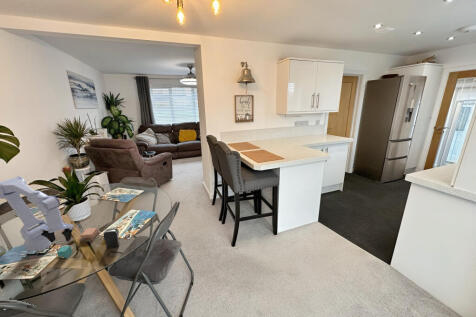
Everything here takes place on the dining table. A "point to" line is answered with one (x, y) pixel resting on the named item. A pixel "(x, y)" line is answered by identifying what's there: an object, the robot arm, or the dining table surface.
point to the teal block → (65, 251)
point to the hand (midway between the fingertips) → (61, 240)
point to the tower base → (89, 238)
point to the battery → (111, 238)
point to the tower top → (89, 233)
